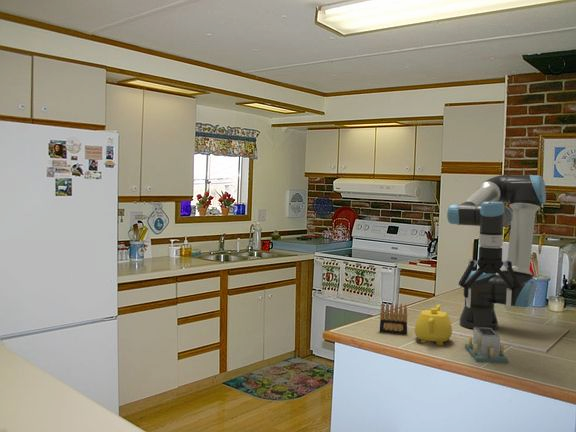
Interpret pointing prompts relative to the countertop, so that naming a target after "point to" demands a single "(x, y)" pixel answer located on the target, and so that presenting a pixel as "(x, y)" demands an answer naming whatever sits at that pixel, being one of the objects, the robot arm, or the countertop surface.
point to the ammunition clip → (393, 320)
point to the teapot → (433, 326)
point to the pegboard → (479, 358)
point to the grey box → (486, 341)
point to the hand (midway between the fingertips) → (488, 307)
